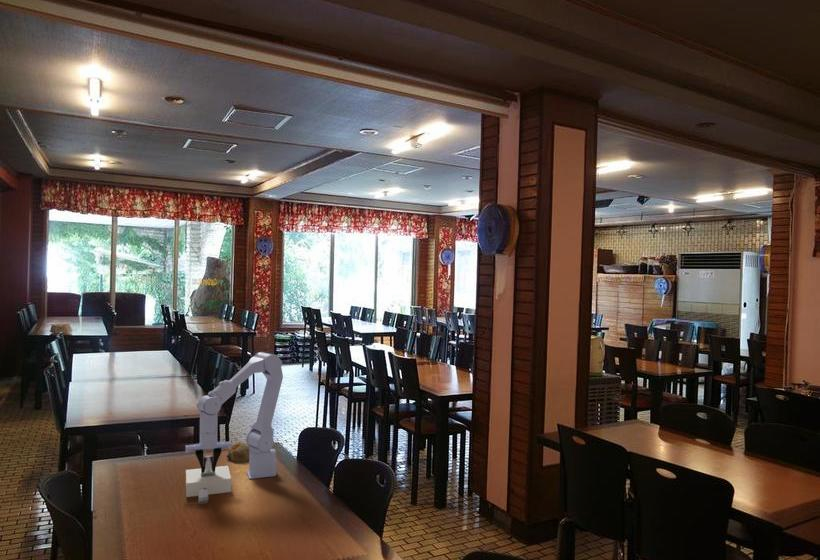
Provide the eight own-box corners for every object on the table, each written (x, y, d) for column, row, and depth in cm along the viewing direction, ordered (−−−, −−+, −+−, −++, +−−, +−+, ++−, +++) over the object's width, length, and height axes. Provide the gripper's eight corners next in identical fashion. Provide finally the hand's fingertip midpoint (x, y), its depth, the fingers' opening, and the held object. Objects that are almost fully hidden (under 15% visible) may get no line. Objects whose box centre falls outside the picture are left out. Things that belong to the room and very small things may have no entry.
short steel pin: (208, 499, 188) (208, 487, 188) (208, 503, 186) (208, 490, 186) (198, 501, 187) (198, 488, 187) (198, 504, 185) (198, 491, 185)
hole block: (227, 478, 208) (227, 465, 208) (231, 491, 195) (231, 478, 195) (185, 482, 203) (185, 469, 203) (186, 497, 190) (186, 483, 190)
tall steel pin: (214, 479, 200) (214, 455, 200) (210, 482, 197) (210, 458, 197) (206, 478, 201) (206, 455, 201) (201, 481, 198) (202, 458, 198)
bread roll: (244, 471, 226) (253, 453, 226) (221, 460, 226) (230, 441, 226) (252, 463, 236) (260, 445, 236) (229, 452, 236) (238, 434, 236)
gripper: (229, 426, 206) (229, 465, 206) (185, 430, 200) (185, 469, 200) (231, 431, 199) (231, 471, 199) (185, 435, 194) (185, 476, 194)
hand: (208, 471), depth 199 cm, fingers closed on tall steel pin, 3 cm apart
